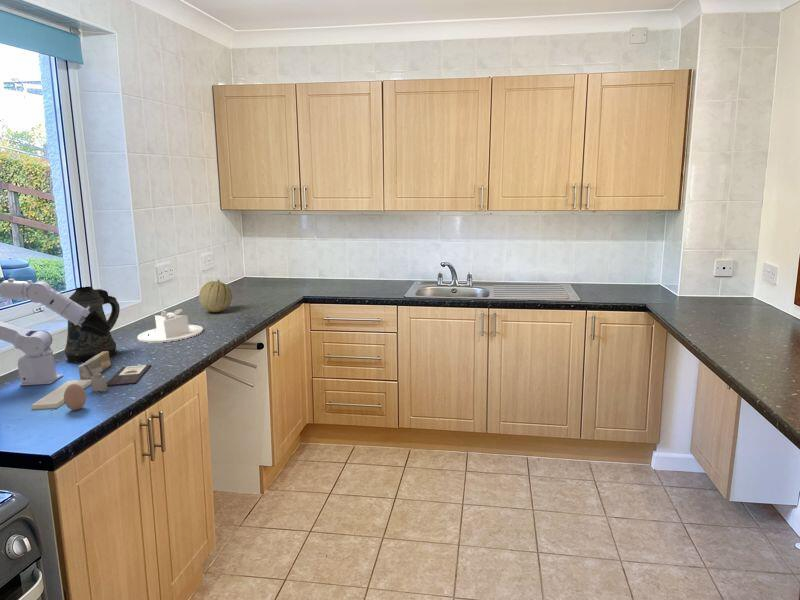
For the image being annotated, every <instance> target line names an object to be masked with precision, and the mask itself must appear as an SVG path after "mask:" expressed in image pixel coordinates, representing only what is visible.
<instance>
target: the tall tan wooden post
mask: <svg viewBox="0 0 800 600" xmlns="http://www.w3.org/2000/svg"><path fill="white" fill-rule="evenodd" d="M85 364H88V366H89V367H90V369H91V371H92V372H93V374H95V373H101V372H103V371H104V370H106V369H107V368H109V367H110V366H112V365H111V357H109V352H108V351H102V352H101V353H99V354H98V355H96V356H94V357H93V358H91V359H90V360H88V361H86V362H85V363H80V365H78V366H77V367H78V372H79V378H80V379H79V380H88V379H87V378H86V377H85V375H84V373H83V372H82V370H81V368H80V367H81V366H83V365H85ZM89 379H91V378H89Z"/></svg>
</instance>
